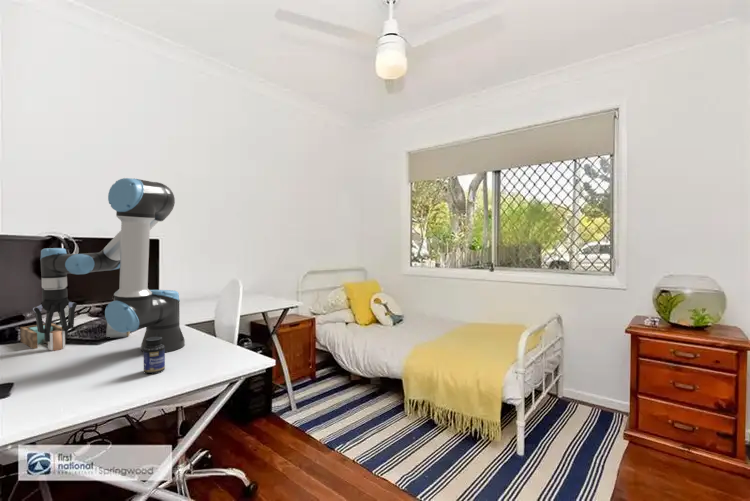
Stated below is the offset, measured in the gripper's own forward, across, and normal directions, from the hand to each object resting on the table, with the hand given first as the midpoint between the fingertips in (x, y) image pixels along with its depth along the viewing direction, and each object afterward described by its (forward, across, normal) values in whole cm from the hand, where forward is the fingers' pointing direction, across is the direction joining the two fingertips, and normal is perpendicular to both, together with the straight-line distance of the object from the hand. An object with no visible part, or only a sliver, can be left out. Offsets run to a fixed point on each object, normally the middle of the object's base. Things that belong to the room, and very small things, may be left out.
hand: (56, 348), depth 147 cm
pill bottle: (+1, -10, +54) cm, 54 cm away
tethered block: (0, 0, -9) cm, 9 cm away
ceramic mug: (+1, -22, -1) cm, 22 cm away
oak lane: (0, 0, -16) cm, 16 cm away
